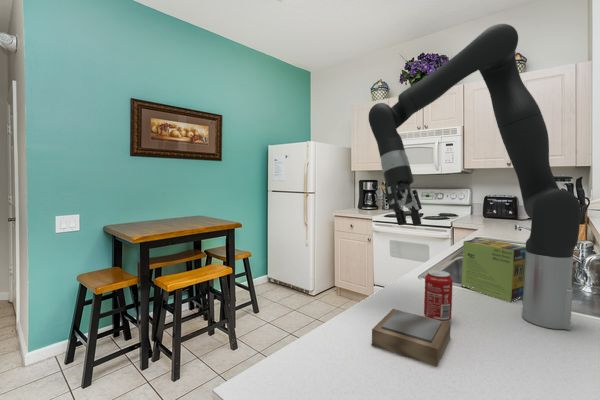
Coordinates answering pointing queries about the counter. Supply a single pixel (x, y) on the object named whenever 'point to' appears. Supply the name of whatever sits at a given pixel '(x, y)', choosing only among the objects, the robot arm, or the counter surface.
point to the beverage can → (438, 295)
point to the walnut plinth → (412, 336)
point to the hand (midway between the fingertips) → (410, 224)
